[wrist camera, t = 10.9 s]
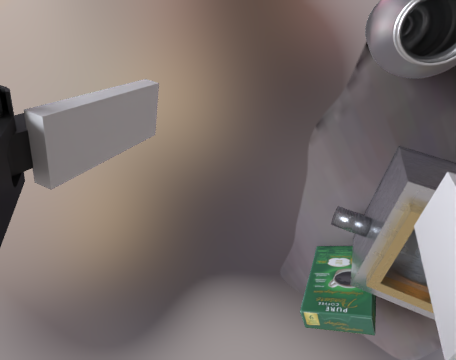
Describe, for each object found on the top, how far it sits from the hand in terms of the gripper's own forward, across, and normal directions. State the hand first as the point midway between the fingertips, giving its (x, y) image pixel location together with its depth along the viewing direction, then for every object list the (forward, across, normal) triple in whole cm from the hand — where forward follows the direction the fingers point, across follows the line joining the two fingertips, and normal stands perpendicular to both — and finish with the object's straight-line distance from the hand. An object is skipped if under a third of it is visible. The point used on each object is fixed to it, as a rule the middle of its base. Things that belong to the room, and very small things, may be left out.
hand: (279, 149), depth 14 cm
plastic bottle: (+27, +5, +6) cm, 28 cm away
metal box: (+27, +14, -13) cm, 33 cm away
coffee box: (+27, +10, -23) cm, 37 cm away
